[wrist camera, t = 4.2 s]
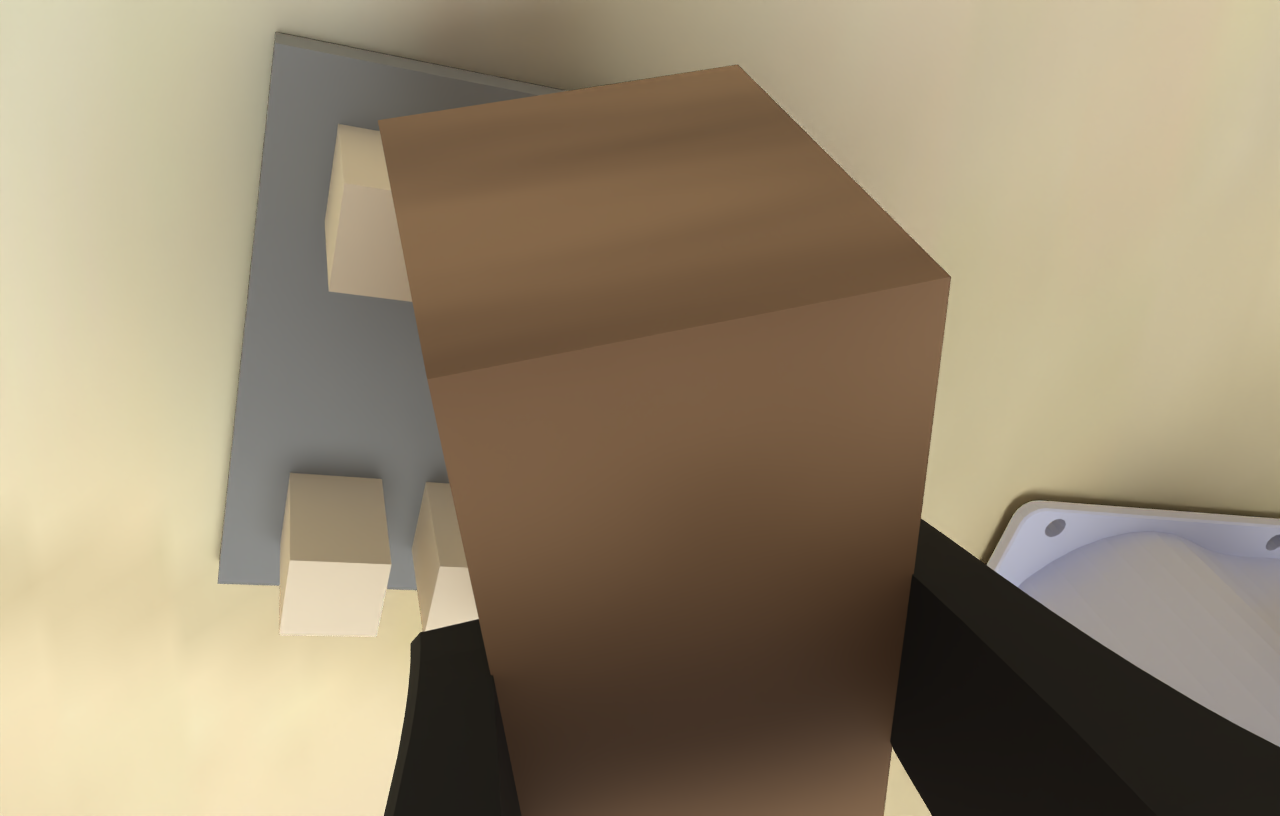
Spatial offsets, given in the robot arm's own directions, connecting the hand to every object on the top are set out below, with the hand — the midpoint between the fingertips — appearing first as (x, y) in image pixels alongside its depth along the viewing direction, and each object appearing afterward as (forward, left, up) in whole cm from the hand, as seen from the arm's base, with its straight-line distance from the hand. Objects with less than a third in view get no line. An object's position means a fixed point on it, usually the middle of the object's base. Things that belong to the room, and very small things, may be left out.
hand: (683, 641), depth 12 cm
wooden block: (0, 0, -4) cm, 4 cm away
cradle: (+1, +2, -9) cm, 10 cm away
